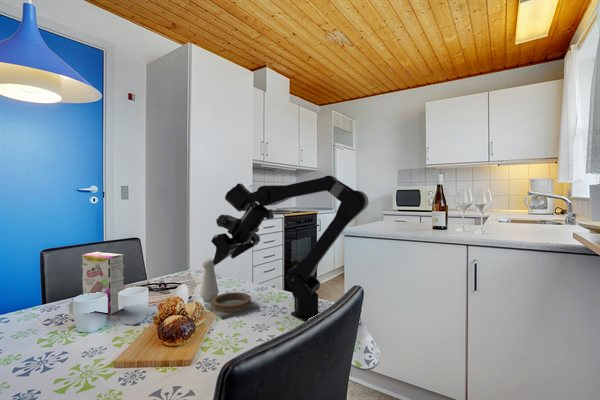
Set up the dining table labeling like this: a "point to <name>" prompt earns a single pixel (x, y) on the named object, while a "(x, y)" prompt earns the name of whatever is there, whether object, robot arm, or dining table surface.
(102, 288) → the candy bar box
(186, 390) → the dining table surface
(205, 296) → the salt shaker
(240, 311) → the stand
